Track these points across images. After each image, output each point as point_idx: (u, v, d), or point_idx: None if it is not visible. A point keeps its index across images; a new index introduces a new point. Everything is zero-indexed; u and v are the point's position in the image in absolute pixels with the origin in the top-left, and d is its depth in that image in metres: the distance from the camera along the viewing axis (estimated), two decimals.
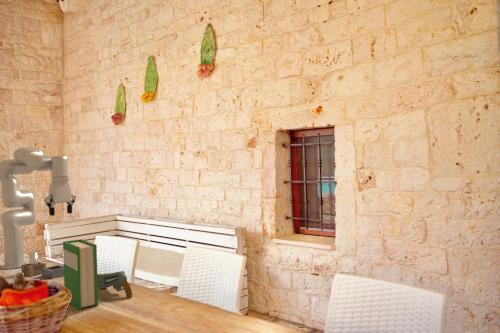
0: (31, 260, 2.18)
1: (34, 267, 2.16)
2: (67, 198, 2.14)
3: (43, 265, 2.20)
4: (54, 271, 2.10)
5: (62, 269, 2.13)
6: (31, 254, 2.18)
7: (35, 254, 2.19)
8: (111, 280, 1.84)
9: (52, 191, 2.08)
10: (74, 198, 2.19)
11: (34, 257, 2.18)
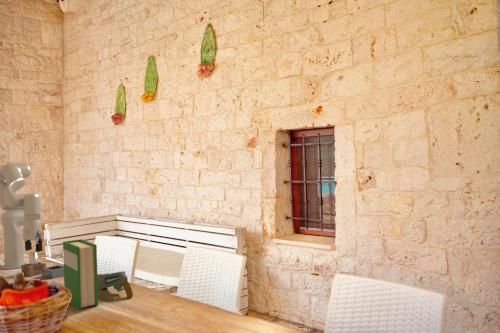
0: (31, 260, 2.18)
1: (34, 267, 2.16)
2: None
3: (43, 265, 2.20)
4: (54, 271, 2.10)
5: (62, 269, 2.13)
6: (31, 254, 2.18)
7: (35, 254, 2.19)
8: (111, 280, 1.83)
9: (39, 227, 2.18)
10: None
11: (34, 257, 2.18)
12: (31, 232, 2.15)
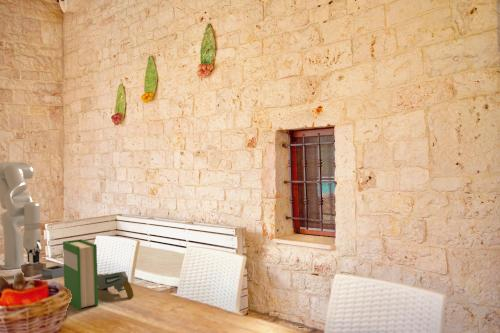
0: (31, 260, 2.18)
1: (34, 267, 2.16)
2: None
3: (43, 265, 2.20)
4: (54, 271, 2.10)
5: (62, 269, 2.13)
6: (31, 254, 2.18)
7: None
8: (112, 280, 1.83)
9: (39, 237, 2.18)
10: None
11: None
12: (31, 241, 2.16)
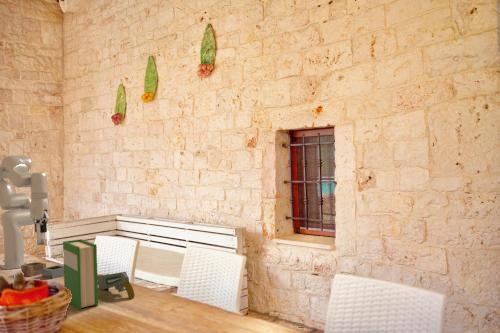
0: (38, 230, 2.16)
1: (34, 267, 2.16)
2: None
3: (43, 265, 2.20)
4: (54, 271, 2.10)
5: (62, 269, 2.13)
6: (39, 224, 2.16)
7: None
8: (112, 280, 1.83)
9: (46, 206, 2.16)
10: None
11: None
12: (38, 211, 2.14)
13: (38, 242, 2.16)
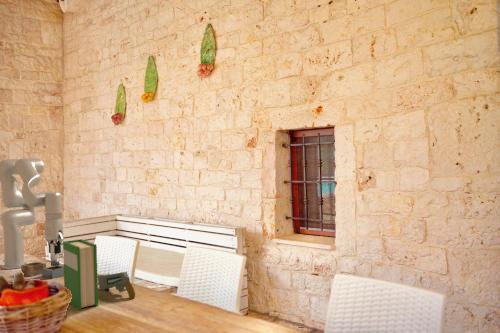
0: (52, 251, 2.13)
1: (34, 267, 2.16)
2: None
3: (43, 265, 2.20)
4: (54, 271, 2.10)
5: (62, 269, 2.13)
6: (53, 245, 2.13)
7: None
8: (113, 280, 1.82)
9: (61, 227, 2.13)
10: None
11: None
12: (53, 232, 2.11)
13: (52, 263, 2.13)
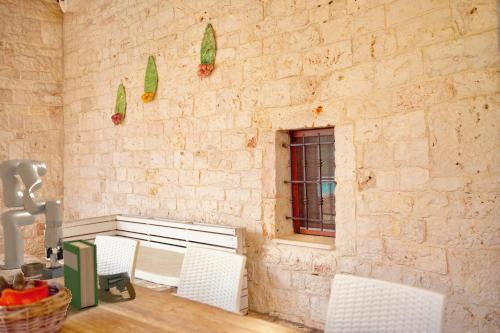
0: (52, 262, 2.13)
1: (34, 267, 2.16)
2: None
3: (43, 265, 2.20)
4: (54, 271, 2.10)
5: (62, 269, 2.13)
6: (53, 255, 2.13)
7: (56, 255, 2.14)
8: (114, 280, 1.82)
9: (61, 235, 2.13)
10: None
11: (55, 258, 2.13)
12: (53, 240, 2.11)
13: None
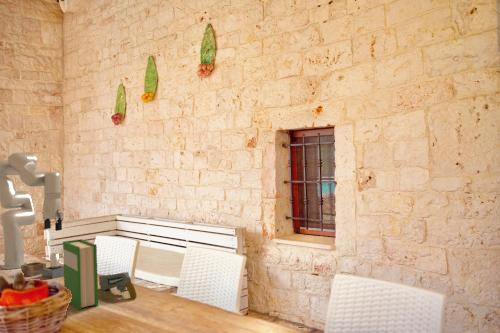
0: (52, 262, 2.13)
1: (34, 267, 2.16)
2: None
3: (43, 265, 2.20)
4: (54, 271, 2.10)
5: (62, 269, 2.13)
6: (53, 255, 2.13)
7: (56, 255, 2.14)
8: (114, 281, 1.82)
9: (59, 206, 2.16)
10: None
11: (55, 258, 2.13)
12: (51, 211, 2.14)
13: None
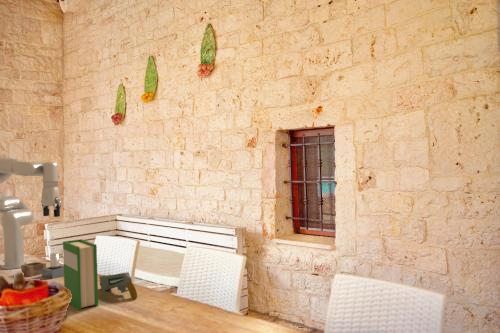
0: (52, 262, 2.13)
1: (34, 267, 2.16)
2: None
3: (43, 265, 2.20)
4: (54, 271, 2.10)
5: (62, 269, 2.13)
6: (53, 255, 2.13)
7: (56, 255, 2.14)
8: (115, 281, 1.82)
9: (57, 194, 2.29)
10: None
11: (55, 258, 2.13)
12: (49, 198, 2.27)
13: None
